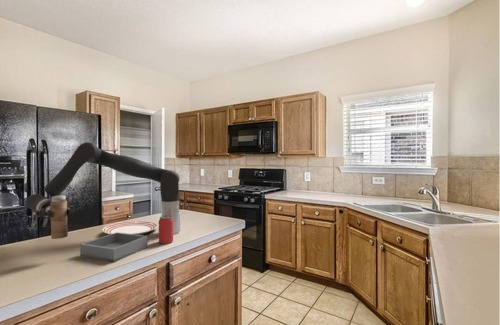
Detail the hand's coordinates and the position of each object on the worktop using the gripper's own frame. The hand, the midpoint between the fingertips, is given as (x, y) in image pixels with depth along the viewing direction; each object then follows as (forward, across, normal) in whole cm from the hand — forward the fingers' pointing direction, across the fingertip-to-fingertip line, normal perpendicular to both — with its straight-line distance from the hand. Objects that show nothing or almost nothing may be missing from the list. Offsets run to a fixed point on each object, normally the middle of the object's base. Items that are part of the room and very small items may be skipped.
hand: (61, 213), depth 101 cm
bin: (+6, +18, +19) cm, 26 cm away
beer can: (+11, +39, +19) cm, 44 cm away
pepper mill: (-3, 0, +10) cm, 10 cm away
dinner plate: (-19, +36, +19) cm, 45 cm away
